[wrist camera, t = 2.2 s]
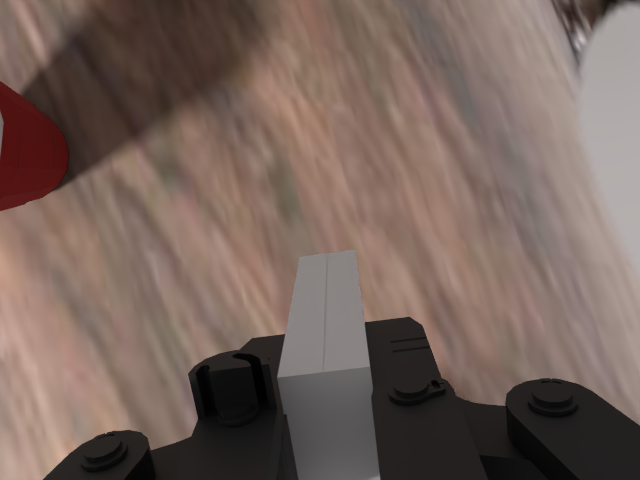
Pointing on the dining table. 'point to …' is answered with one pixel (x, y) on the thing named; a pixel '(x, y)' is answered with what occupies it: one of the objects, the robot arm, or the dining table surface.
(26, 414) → the dining table surface
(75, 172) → the dining table surface
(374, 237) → the dining table surface
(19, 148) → the plastic cup
